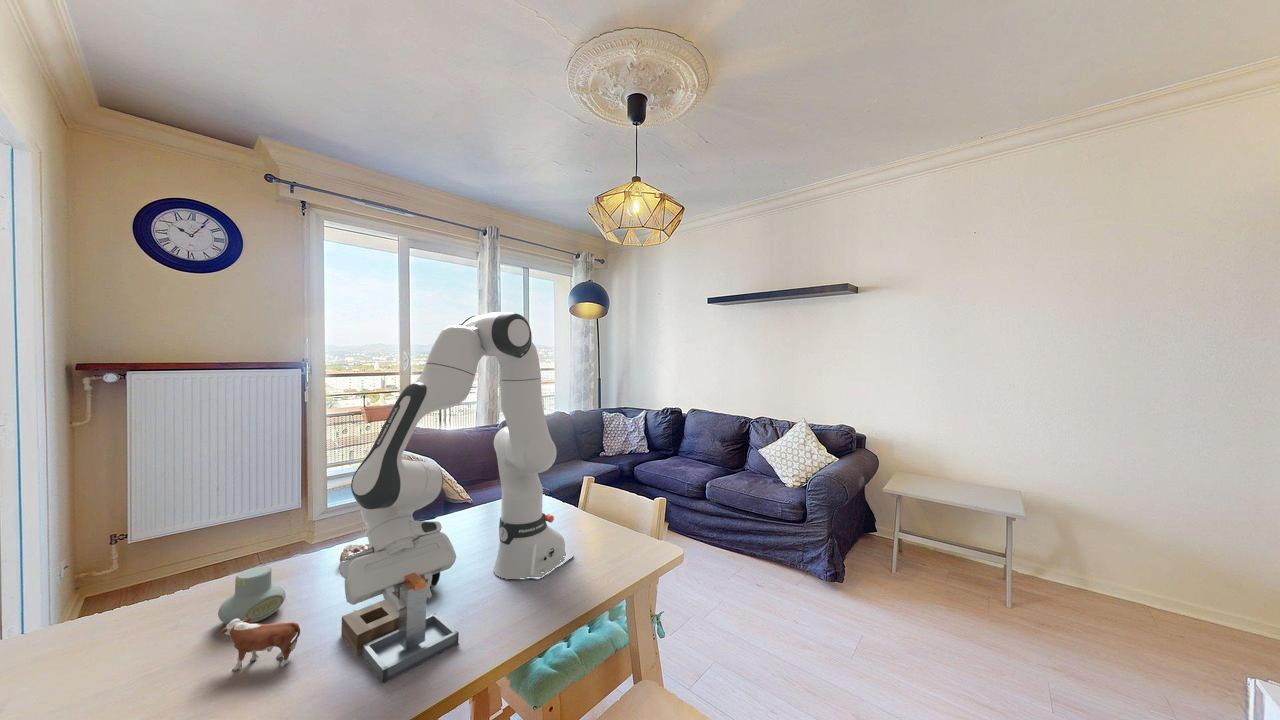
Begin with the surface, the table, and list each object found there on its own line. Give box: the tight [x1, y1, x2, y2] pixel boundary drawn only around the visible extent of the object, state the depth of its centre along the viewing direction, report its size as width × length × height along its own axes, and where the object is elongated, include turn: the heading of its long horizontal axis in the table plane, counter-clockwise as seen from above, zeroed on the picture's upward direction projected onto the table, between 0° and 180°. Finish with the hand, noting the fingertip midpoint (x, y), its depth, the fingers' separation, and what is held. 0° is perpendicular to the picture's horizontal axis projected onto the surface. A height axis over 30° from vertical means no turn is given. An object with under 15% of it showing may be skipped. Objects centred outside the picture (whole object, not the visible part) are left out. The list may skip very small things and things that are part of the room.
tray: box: [361, 612, 460, 685], centre depth 84 cm, size 14×10×2 cm
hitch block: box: [340, 599, 399, 656], centre depth 88 cm, size 9×9×4 cm
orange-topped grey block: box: [398, 572, 427, 650], centre depth 84 cm, size 4×6×13 cm, turn 51°
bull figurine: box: [220, 618, 301, 672], centre depth 79 cm, size 4×13×8 cm, turn 95°
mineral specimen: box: [339, 543, 370, 563], centre depth 118 cm, size 12×8×7 cm
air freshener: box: [217, 565, 286, 625], centre depth 93 cm, size 11×8×10 cm
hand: (414, 604), depth 83 cm, fingers closed on orange-topped grey block, 3 cm apart
